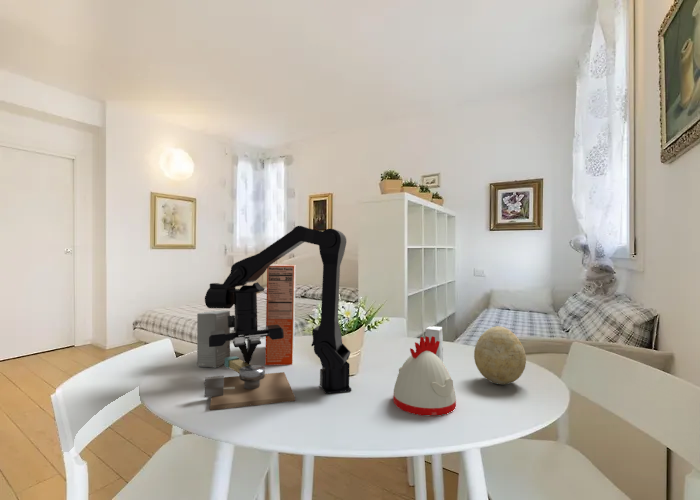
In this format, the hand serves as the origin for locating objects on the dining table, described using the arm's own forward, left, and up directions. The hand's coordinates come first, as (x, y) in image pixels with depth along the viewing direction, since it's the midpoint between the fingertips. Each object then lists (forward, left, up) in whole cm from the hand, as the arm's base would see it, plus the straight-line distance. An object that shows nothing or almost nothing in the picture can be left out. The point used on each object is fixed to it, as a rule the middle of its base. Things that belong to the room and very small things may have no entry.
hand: (247, 367), depth 95 cm
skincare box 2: (-54, +5, -3) cm, 54 cm away
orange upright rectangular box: (-12, -22, -4) cm, 26 cm away
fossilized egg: (-64, +21, -3) cm, 67 cm away
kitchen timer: (-38, +27, -4) cm, 46 cm away
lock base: (0, +8, -3) cm, 8 cm away
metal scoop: (+1, +4, 0) cm, 4 cm away
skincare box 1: (+9, -17, -3) cm, 20 cm away
